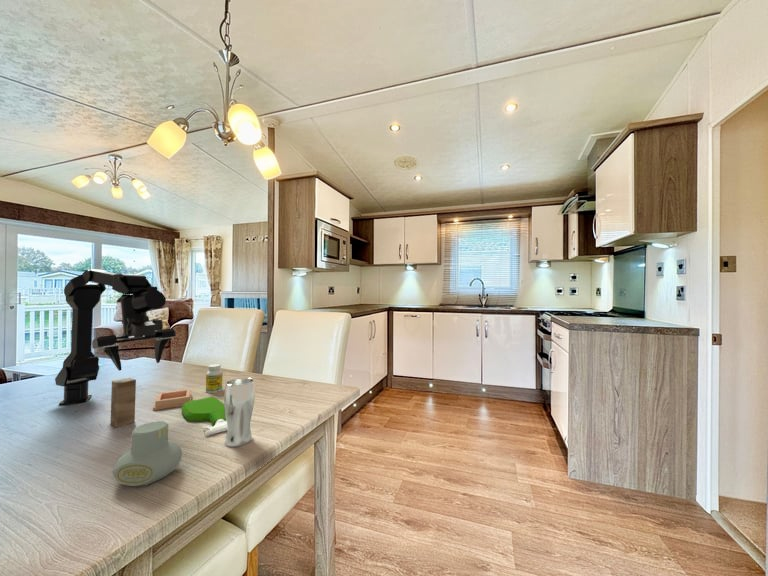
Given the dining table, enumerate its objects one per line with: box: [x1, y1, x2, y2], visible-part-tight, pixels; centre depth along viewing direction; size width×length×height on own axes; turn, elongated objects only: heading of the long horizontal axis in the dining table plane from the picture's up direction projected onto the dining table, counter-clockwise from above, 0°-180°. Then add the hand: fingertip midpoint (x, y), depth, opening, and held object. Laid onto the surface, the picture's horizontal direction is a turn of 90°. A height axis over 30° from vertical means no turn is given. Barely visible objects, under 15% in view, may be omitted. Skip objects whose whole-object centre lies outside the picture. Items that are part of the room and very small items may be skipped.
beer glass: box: [223, 377, 256, 448], centre depth 75 cm, size 7×7×15 cm
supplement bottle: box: [205, 363, 223, 394], centre depth 112 cm, size 5×5×10 cm
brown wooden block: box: [110, 377, 137, 428], centre depth 84 cm, size 4×4×12 cm
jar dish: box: [152, 388, 193, 411], centre depth 100 cm, size 10×10×2 cm
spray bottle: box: [181, 396, 227, 437], centre depth 88 cm, size 3×11×24 cm
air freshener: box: [112, 420, 183, 487], centre depth 60 cm, size 11×8×10 cm
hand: (139, 366), depth 89 cm, fingers open, 9 cm apart
